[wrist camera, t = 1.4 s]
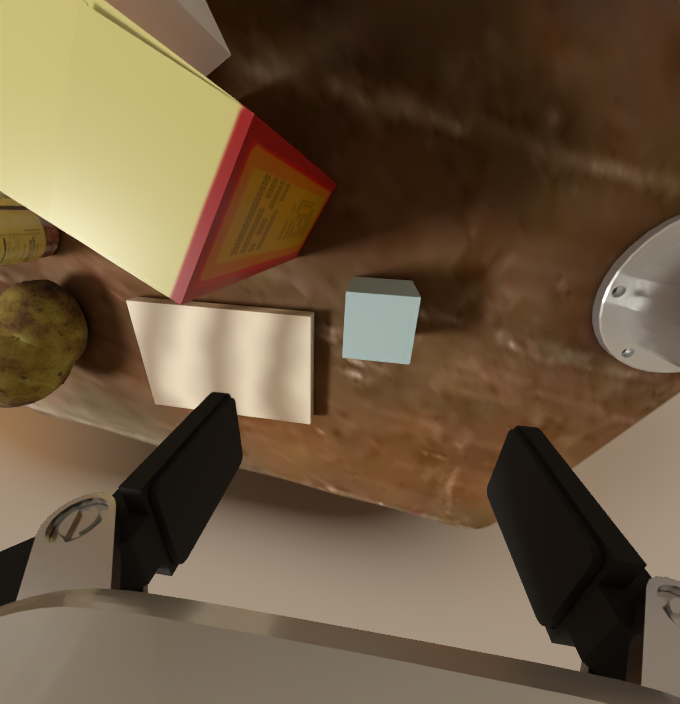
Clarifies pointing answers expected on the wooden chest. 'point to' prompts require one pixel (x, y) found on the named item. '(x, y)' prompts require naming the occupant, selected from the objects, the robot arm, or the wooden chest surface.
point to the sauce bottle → (24, 233)
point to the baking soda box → (144, 152)
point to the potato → (37, 340)
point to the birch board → (228, 356)
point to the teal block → (380, 319)
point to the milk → (180, 29)
